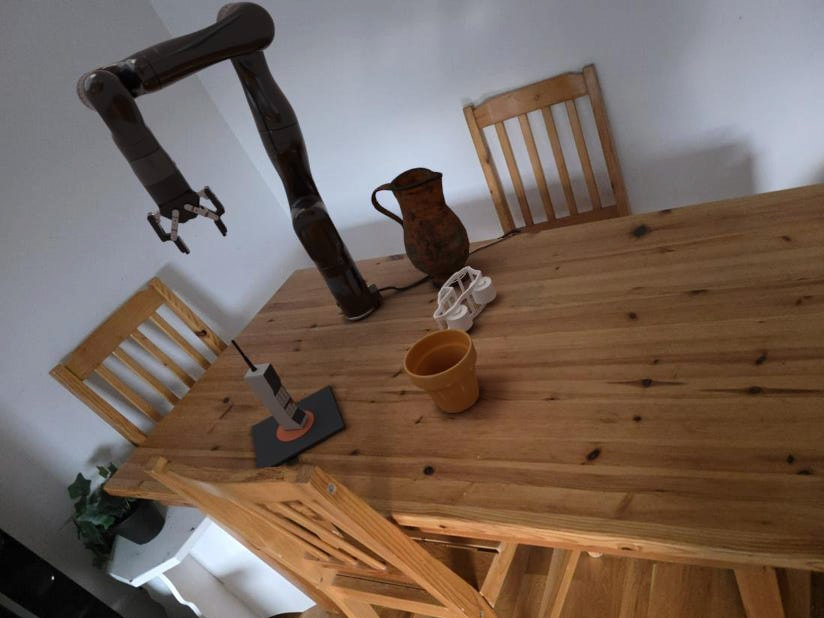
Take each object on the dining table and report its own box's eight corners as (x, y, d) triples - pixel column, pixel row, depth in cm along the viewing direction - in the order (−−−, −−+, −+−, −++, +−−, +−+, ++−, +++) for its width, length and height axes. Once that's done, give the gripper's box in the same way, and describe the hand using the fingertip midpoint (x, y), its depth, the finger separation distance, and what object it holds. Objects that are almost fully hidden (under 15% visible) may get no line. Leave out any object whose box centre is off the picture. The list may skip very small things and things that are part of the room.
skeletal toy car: (463, 344, 138) (452, 320, 133) (427, 338, 144) (416, 315, 140) (505, 292, 148) (497, 267, 144) (470, 288, 155) (461, 265, 150)
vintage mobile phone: (303, 429, 131) (239, 344, 116) (284, 431, 133) (219, 347, 118) (309, 416, 134) (248, 331, 119) (291, 418, 135) (228, 335, 120)
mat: (330, 387, 142) (328, 384, 141) (345, 428, 128) (343, 425, 128) (253, 428, 139) (250, 425, 138) (260, 475, 126) (257, 472, 125)
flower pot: (418, 395, 129) (394, 351, 121) (476, 364, 131) (456, 318, 123) (440, 434, 118) (415, 388, 110) (502, 399, 119) (482, 351, 112)
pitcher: (472, 293, 153) (429, 187, 135) (400, 301, 162) (351, 202, 143) (488, 257, 164) (451, 154, 146) (420, 266, 173) (377, 170, 155)
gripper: (124, 195, 115) (176, 265, 125) (192, 163, 117) (238, 234, 127) (127, 185, 121) (176, 252, 131) (192, 155, 123) (236, 223, 133)
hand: (207, 243), depth 129 cm, fingers open, 8 cm apart
